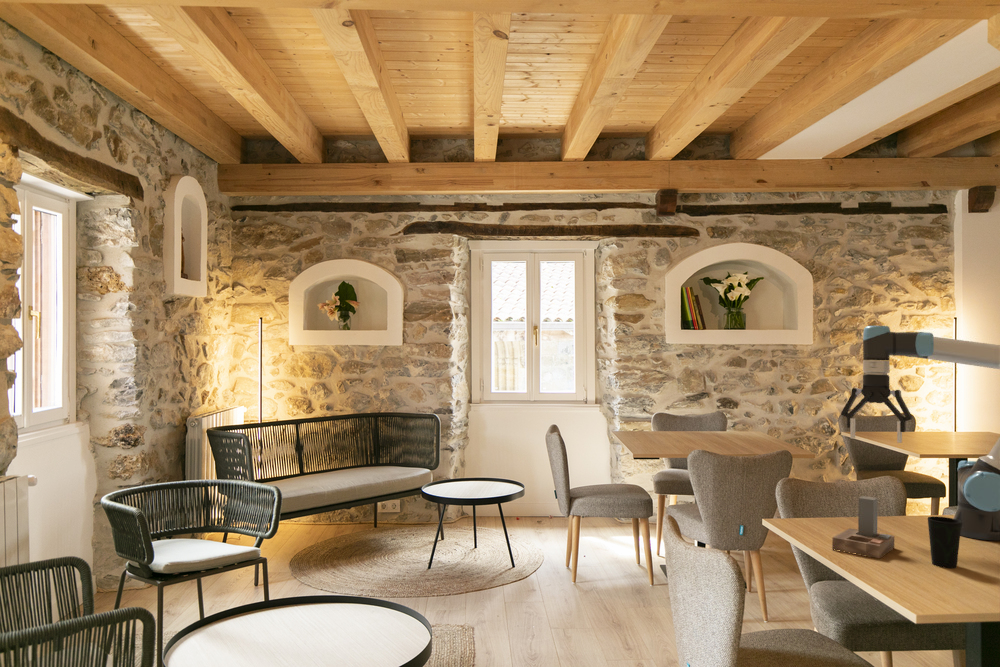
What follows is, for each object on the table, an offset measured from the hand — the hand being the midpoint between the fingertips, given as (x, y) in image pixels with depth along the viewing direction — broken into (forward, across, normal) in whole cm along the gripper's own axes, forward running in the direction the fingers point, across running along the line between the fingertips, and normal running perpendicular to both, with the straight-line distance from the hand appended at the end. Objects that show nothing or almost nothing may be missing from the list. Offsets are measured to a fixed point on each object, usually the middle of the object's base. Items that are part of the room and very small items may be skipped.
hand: (875, 440), depth 224 cm
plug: (+29, +4, -23) cm, 37 cm away
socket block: (+29, +4, -27) cm, 40 cm away
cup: (+29, +24, -28) cm, 47 cm away
